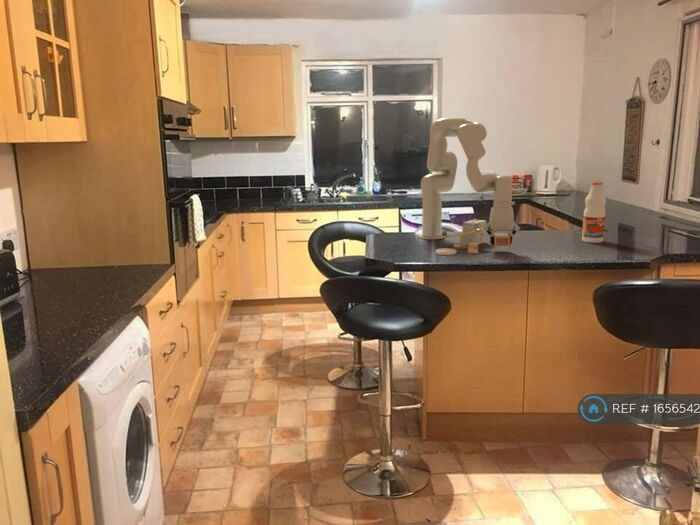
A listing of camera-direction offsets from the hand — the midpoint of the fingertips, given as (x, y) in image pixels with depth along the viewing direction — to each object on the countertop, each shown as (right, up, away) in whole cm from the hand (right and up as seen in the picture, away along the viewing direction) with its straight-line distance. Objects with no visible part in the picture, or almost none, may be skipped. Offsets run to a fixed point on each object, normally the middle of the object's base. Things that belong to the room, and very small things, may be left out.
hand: (500, 244), depth 256 cm
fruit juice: (+49, +2, +20) cm, 52 cm away
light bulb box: (-8, +1, +20) cm, 21 cm away
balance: (-15, -1, +11) cm, 19 cm away
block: (-12, -3, +2) cm, 13 cm away
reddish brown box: (0, -1, 0) cm, 1 cm away
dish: (-24, -4, +1) cm, 24 cm away
